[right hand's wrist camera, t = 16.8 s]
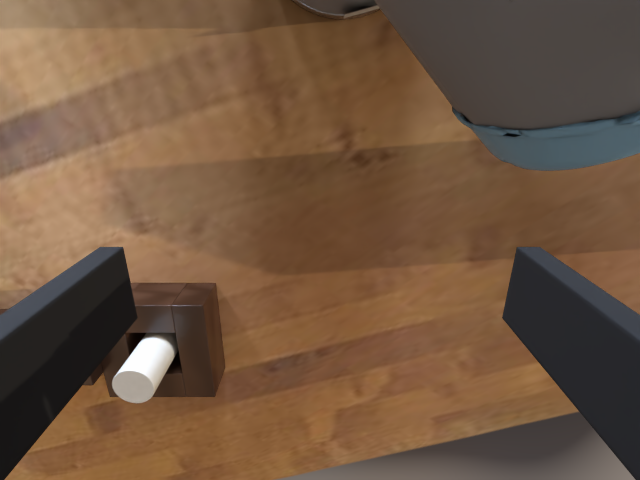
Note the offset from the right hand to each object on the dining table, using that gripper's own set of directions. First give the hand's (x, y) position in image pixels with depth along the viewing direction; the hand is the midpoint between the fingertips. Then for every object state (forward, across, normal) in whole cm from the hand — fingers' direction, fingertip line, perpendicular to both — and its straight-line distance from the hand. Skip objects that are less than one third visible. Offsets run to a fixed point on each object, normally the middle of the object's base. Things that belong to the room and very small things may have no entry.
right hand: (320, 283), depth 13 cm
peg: (+27, -18, -20) cm, 38 cm away
